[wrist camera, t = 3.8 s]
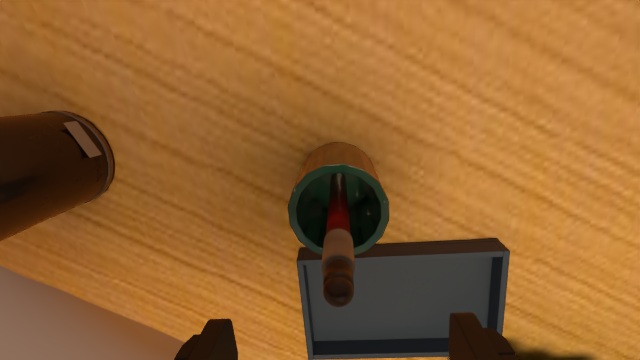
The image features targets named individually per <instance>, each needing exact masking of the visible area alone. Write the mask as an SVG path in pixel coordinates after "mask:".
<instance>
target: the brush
mask: <svg viewBox="0 0 640 360" xmlns="http://www.w3.org/2000/svg"><path fill="white" fill-rule="evenodd" d="M321 270H322V273H323V275H324V279H323V296H324V298H325V300H326V301H327V302H328V303H329V304H330V305H332V306H334V307H343V306H346V305H347V304H348V303H350V301H351V300H352V298H353V295H354V283H353V275H354V273H355V259H354V248H353V239H352V236H351V234H350V222H349V210H348V197H347V185H346V178H345V176H344V175H343V174H340V173H336V174H334V175H333V176H332V177H331V180H330V192H329V204H328V217H327V229H326V236H325V238H324V244H323V255H322V266H321Z"/></svg>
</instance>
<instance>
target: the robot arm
mask: <svg viewBox="0 0 640 360" xmlns="http://www.w3.org/2000/svg"><path fill="white" fill-rule="evenodd" d="M113 169H114V166H113V158H112V154H111V151H110V148H109V146H108V144H107V142H106V141H105V139H104V137H103V136H102V135H101V133H100V132H99V131H98V130H97V129H96V128H95V127H94V126H93V125H92V124H90V123H89V122H88V121H86V120H85V119H83V118H81V117H79V116H77V115H75V114H72V113H69V112H64V111H47V112H42V113H38V114H28V115H15V116H4V117H0V241H2V240H4V239H6V238H8V237H10V236H12V235H15V234H17V233H19V232H21V231H23V230H25V229H28V228H30V227H32V226H34V225H36V224H39V223H41V222H43V221H45V220H47V219H49V218H52V217H54V216H56V215H58V214H60V213H63V212H65V211H67V210H69V209H71V208H74V207H76V206H78V205H80V204H82V203H86V202H89V201H91V200H93V199H95V198H97V197H99V196H100V195H102V194H103V193H104V192H105V191H106V189H107V188H108V186H109V185H110V183H111V180H112V177H113ZM449 357H450V360H520V359H519V358H518V356H517V355H515V352H514V350H513V349H512V347H511V346H510V344H509V343H508V341H507V339H505V338H504V337H503V336H502V335H501V334H499V333H498V332H497V331H496V330H495V329H493V328H483V327H482V325H481V323H480V322H479V320H478V318H477V317H476V315H475V314H474V313H473V312H464V313H451V314H450V318H449ZM174 360H238V351H237V346H236V341H235V336H234V330H233V325H232V321H231V320H230V319H210V320H209V321H208V322H207V323H206V325H205V327H204V329H203V331H202V332H201V334H200V335H193V336H192V337H191V338H190V339H189V340H188V341H187V342H186V343H185V344H184V345H182V347H181V349H180V350H179V352H178V353H177V355H176V357H175V359H174Z"/></svg>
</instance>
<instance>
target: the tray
mask: <svg viewBox="0 0 640 360" xmlns="http://www.w3.org/2000/svg"><path fill="white" fill-rule="evenodd" d="M509 255H510V251H509V250H508V249H507V248H506V247H505V246H504V245H503V244H502V243H501V242H500V241H499V240H498V239H477V240H457V241H436V242H416V243H396V244H375V245H373V246H372V247H371V248H370V249H368V250H367V251H365V252H362V253H360V254H357V255H355V256H354V259H355V273H354V275H353V283H354V295H353V298H352V300H351V301H350V303H348V304H347V305H346V306H343V307H334V306H332V305H330V304H329V303H328V302H327V301H326V300H325V298H324V296H323V279H324V275H323V273H322V270H321V266H322V255H321V254H318V253H315V252H313V251H311V250H310V249H309V248H300V250H299V254H298V258H297V267H298V276H299V284H300V293H301V302H302V310H303V319H304V327H305V336H306V344H307V353H308V360H313V359H314V360H316V359H361V358H405V357H449V318H450V314H451V313H464V312H473V313H474V314H475V315H476V317H477V318H478V320H479V322H480V323H481V325H482V327H483V328H493V329H495V330H496V331H497V332H498V333H499V334H501V335H502V332H503V321H504V310H505V299H506V288H507V277H508V266H509Z"/></svg>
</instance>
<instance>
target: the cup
mask: <svg viewBox="0 0 640 360" xmlns="http://www.w3.org/2000/svg"><path fill="white" fill-rule="evenodd" d="M336 173H340V174H343V175H344V176H345V178H346V185H347V197H348V210H349V222H350V234H351V236H352V239H353V248H354V256H355V255H357V254H360V253H362V252H365V251H367V250H368V249H370V248H371V247H372V246H373V245H374V244H375V243H376V242H377V241H378V240H379V239H380V238H381V237H382V235H383V233H384V231H385V228H386V226H387V224H388V221H389V201H388V198H387V196H386V193H385V191H384V189H383V186H382V184H381V182H380V180H379V177H378V175H377V173H376V170H375V168H374V166H373V164H372V162H371V160H370V158H369V157H368V156H367V155H366V154H365V153H364V152H363V151H362V150H361V149H359V148H358V147H356V146H354V145H351V144H348V143H343V142H334V143H329V144H326V145H323V146H321V147H319V148H318V149H316V150H315V151H314V152H313V153H312V154H311V155H310V156H309V157H308V159H307V160H306V161H305V163H304V165H303V168H302V170H301V172H300V175H299V177H298V179H297V181H296V184H295V186H294V188H293V191H292V194H291V198H290V201H289V204H288V213H289V222H290V226H291V228H292V229H293V231H294V233H295V234H296V236H297V238H298V240H299V241H300V242H301V243H302V244H304V245H305V246H306V247H308V248H309V249H310V250H311V251H313V252H315V253H318V254H321V255H323V244H324V238H325V236H326V229H327V217H328V204H329V192H330V180H331V177H332V176H333V175H334V174H336Z"/></svg>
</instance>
